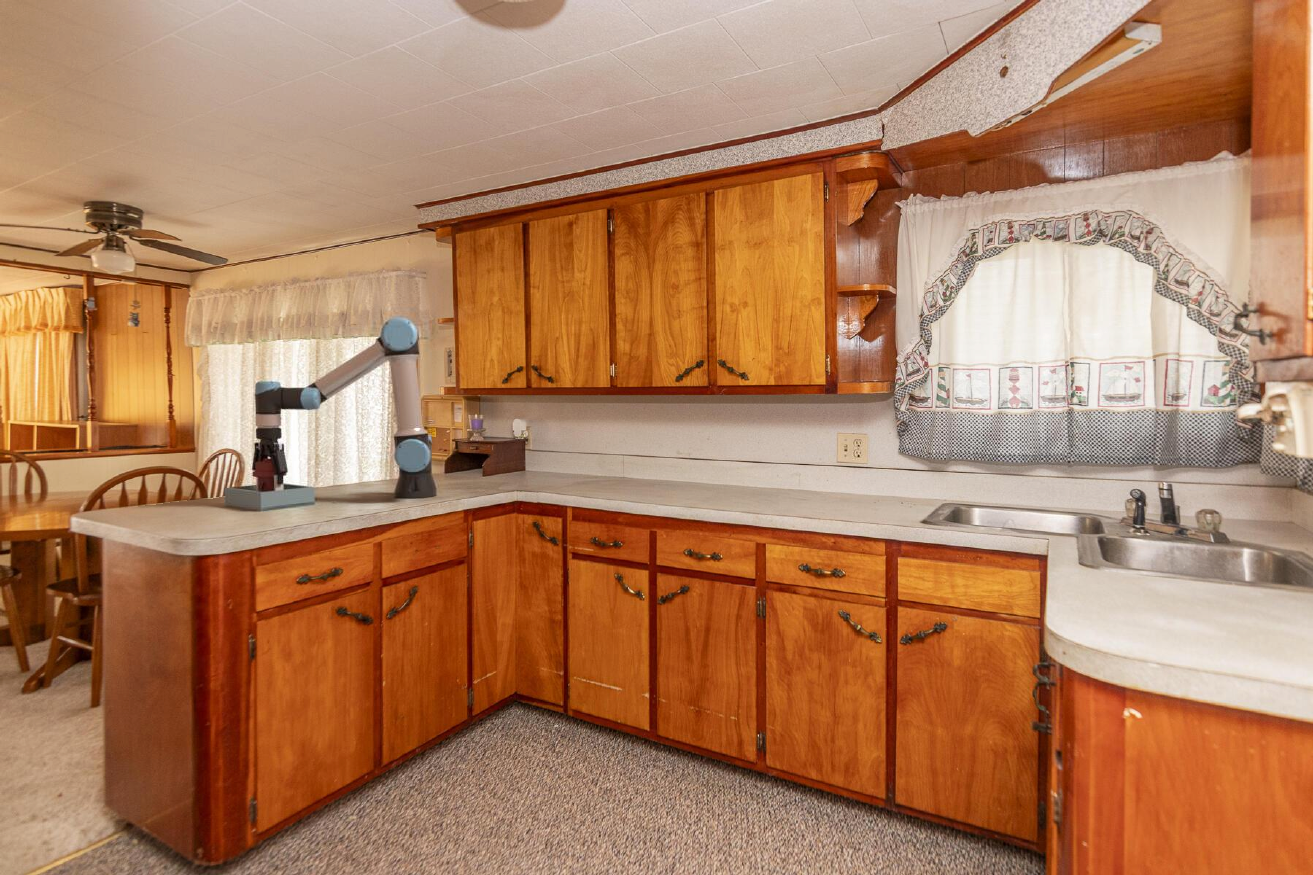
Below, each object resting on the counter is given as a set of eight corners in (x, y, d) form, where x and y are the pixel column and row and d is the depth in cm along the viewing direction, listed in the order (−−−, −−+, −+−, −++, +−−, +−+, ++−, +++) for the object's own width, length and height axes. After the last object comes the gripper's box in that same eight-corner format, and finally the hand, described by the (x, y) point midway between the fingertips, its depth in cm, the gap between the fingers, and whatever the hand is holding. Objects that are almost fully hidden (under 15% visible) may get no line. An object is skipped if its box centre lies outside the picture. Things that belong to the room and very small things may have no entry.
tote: (314, 504, 234) (314, 487, 234) (261, 511, 218) (260, 492, 218) (278, 499, 245) (277, 482, 245) (225, 505, 230) (224, 487, 230)
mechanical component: (264, 497, 225) (246, 495, 230) (293, 494, 234) (275, 492, 238) (264, 460, 224) (245, 459, 229) (292, 458, 233) (274, 457, 238)
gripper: (298, 427, 228) (300, 494, 229) (261, 426, 240) (262, 489, 241) (276, 428, 222) (277, 496, 223) (239, 426, 233) (240, 491, 234)
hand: (270, 492), depth 232 cm, fingers closed on mechanical component, 10 cm apart
